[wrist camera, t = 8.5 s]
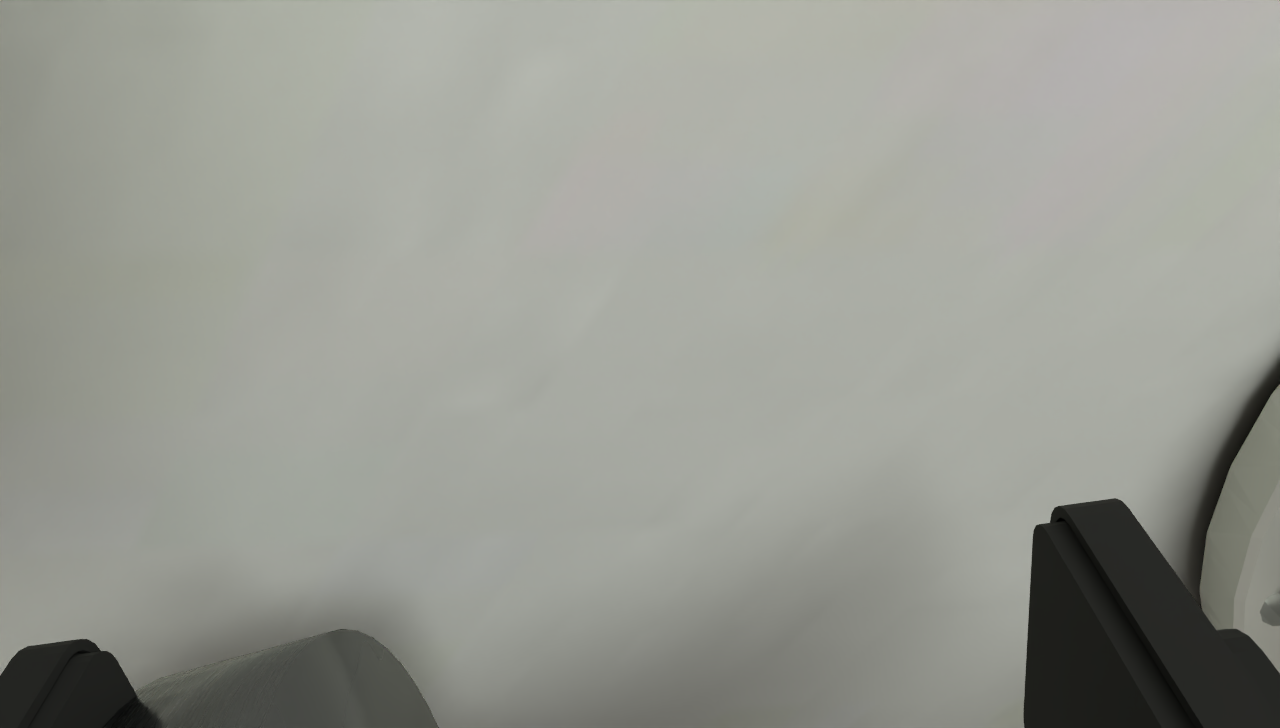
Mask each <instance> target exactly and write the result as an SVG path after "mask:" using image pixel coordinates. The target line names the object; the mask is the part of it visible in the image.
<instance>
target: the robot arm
mask: <svg viewBox="0 0 1280 728" xmlns="http://www.w3.org/2000/svg"><path fill="white" fill-rule="evenodd" d="M1200 597H1201V605H1202V610H1201V608H1200V607H1199V605H1198V604H1197V603H1196V601H1195V600H1194V598H1193V597H1192V596H1191V594H1190V593H1189V591H1188V590H1187V589H1186V587H1185V586H1184V584H1183V583H1182V582H1181V580H1180V579H1179V578H1178V576H1177V575H1176V573H1175V572H1174V571H1173V569H1172V568H1171V566H1170V565H1169V564H1168V562H1167V561H1166V559H1165V558H1164V557H1163V555H1162V554H1161V553H1160V551H1159V550H1158V548H1157V547H1156V546H1155V544H1154V543H1153V541H1152V540H1151V539H1150V537H1149V536H1148V534H1147V533H1146V532H1145V530H1144V529H1143V527H1142V526H1141V525H1140V523H1139V522H1138V521H1137V519H1136V518H1135V516H1134V515H1133V514H1132V512H1131V511H1130V509H1129V508H1128V507H1127V506H1126V505H1125V504H1124V503H1123V502H1122V501H1121V500H1119V499H1116V498H1115V499H1108V500H1100V501H1093V502H1086V503H1078V504H1071V505H1064V506H1058V507H1055V508H1054V510H1053V512H1052V514H1051V521H1050V523H1046V524H1039V525H1036V527H1035V529H1034V534H1033V547H1032V566H1031V585H1030V603H1029V622H1028V641H1027V660H1026V679H1025V697H1024V727H1025V728H1280V384H1279V385H1278V386H1277V388H1276V389H1275V390H1274V392H1273V393H1272V394H1271V396H1270V398H1269V399H1268V401H1267V403H1266V405H1265V406H1264V408H1263V410H1262V412H1261V413H1260V415H1259V417H1258V419H1257V421H1256V422H1255V424H1254V426H1253V428H1252V429H1251V431H1250V433H1249V435H1248V436H1247V438H1246V440H1245V442H1244V443H1243V445H1242V447H1241V449H1240V450H1239V452H1238V454H1237V456H1236V457H1235V459H1234V461H1233V463H1232V465H1231V467H1230V470H1229V472H1228V475H1227V478H1226V481H1225V483H1224V486H1223V489H1222V492H1221V495H1220V497H1219V500H1218V503H1217V506H1216V509H1215V511H1214V514H1213V517H1212V520H1211V523H1210V525H1209V528H1208V531H1207V536H1206V544H1205V552H1204V559H1203V567H1202V575H1201V583H1200ZM135 696H136V693H135V691H134V690H133V688H132V686H131V684H130V683H129V681H128V679H127V677H126V675H125V674H124V672H123V670H122V668H121V667H120V665H119V663H118V661H117V660H116V658H115V657H114V656H113V655H112V654H111V653H109V652H107V651H100V649H99V648H98V647H97V646H96V644H95V643H93V642H91V641H90V640H88V639H78V640H71V641H64V642H56V643H49V644H42V645H35V646H28V647H26V648H24V649H22V650H20V651H18V653H17V654H16V655H15V656H14V657H13V658H12V659H11V661H10V662H9V664H8V665H7V667H6V668H5V670H4V671H3V673H2V674H1V675H0V728H102V727H103V726H104V725H105V724H106V723H107V722H108V721H109V720H110V718H111V717H112V716H113V715H114V714H115V713H116V712H117V711H118V710H119V709H120V708H121V707H122V706H124V705H125V704H126V703H127V702H129V701H130V700H131V699H132V698H134V697H135Z"/></svg>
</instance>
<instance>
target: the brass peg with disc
mask: <svg viewBox="0 0 1280 728" xmlns="http://www.w3.org/2000/svg"><path fill="white" fill-rule="evenodd" d="M135 693H136V696H135V697H134V698H132V699H131V700H130V701H129V702H127V703H126V704H125V705H124V706H122V707H121V708H120V709H119V710H118V711H117V712H116V713H115V714H114V715H113V716H112V717H111V718H110V720H109V721H108V722H107V723H106V724H105V725H104V726H103V727H102V728H439V727H438V725H437V723H436V721H435V719H434V717H433V715H432V713H431V711H430V709H429V707H428V705H427V703H426V701H425V700H424V698H423V696H422V694H421V693H420V691H419V689H418V687H417V686H416V684H415V683H414V681H413V680H412V678H411V677H410V675H409V674H408V673H407V671H406V670H405V668H404V667H403V666H402V664H401V663H400V662H399V661H398V660H397V659H396V658H395V657H394V656H393V654H392V653H391V652H390V651H389V650H388V649H387V648H386V647H384V646H383V645H382V644H380V643H379V642H378V641H377V640H375V639H374V638H372V637H370V636H368V635H366V634H364V633H361V632H359V631H355V630H346V629H340V630H336V631H332V632H328V633H324V634H321V635H317V636H313V637H310V638H306V639H302V640H299V641H295V642H291V643H288V644H284V645H280V646H277V647H273V648H269V649H266V650H262V651H258V652H255V653H251V654H247V655H244V656H240V657H236V658H233V659H229V660H225V661H222V662H218V663H214V664H211V665H207V666H203V667H200V668H196V669H192V670H189V671H185V672H181V673H178V674H174V675H170V676H167V677H163V678H159V679H157V680H156V681H154V682H152V683H150V684H148V685H146V686H144V687H142V688H141V689H139V690H137V691H135Z"/></svg>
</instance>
